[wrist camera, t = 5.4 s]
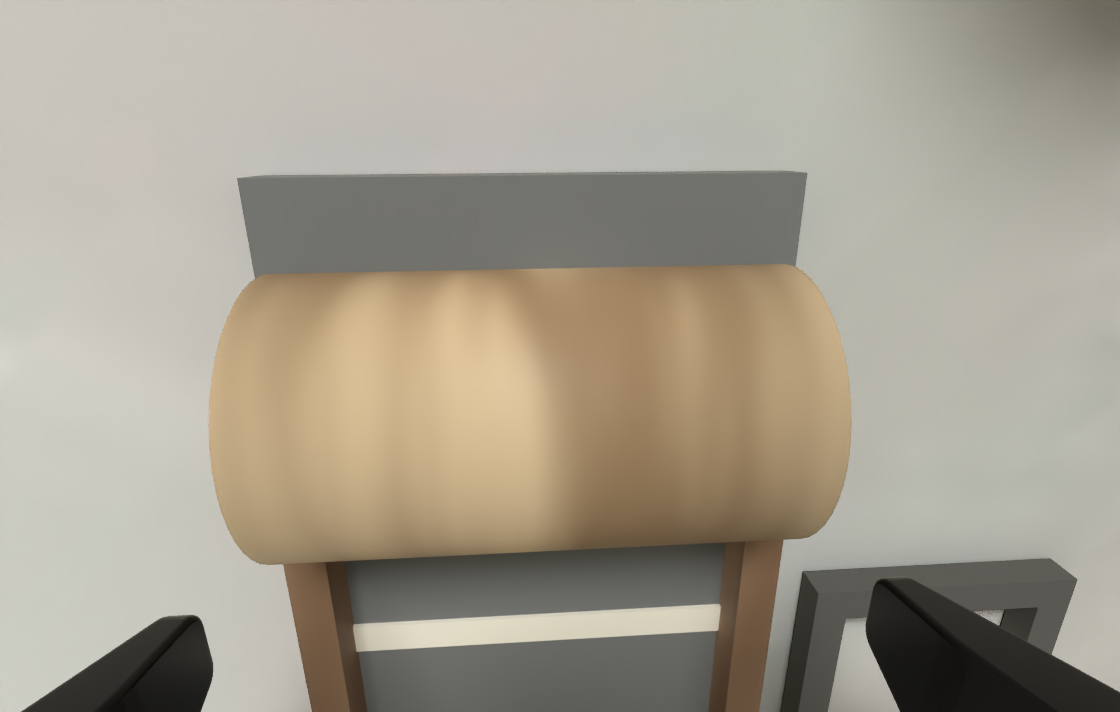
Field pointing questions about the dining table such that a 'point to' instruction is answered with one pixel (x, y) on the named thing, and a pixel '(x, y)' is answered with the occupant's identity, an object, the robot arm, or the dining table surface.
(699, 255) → the runway mat
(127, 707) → the robot arm
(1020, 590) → the grey square frame
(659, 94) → the dining table surface
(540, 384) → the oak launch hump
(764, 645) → the walnut lane
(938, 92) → the dining table surface
